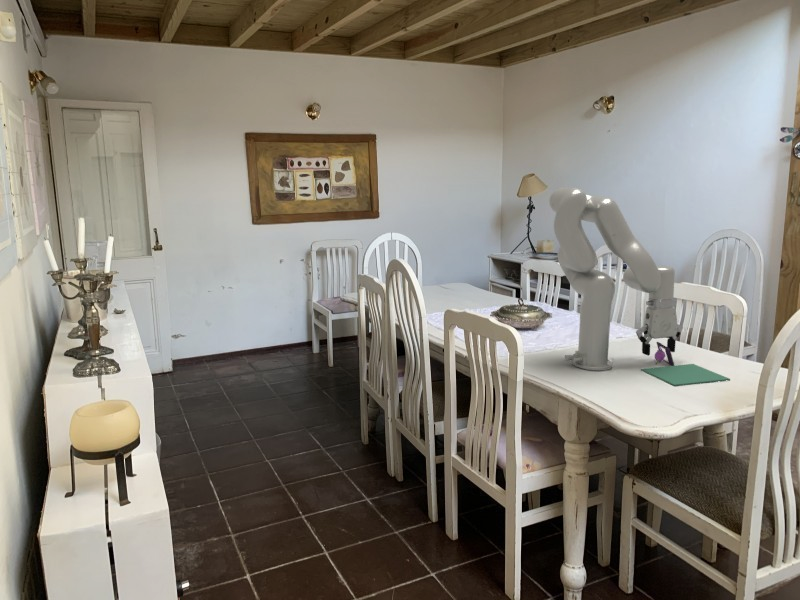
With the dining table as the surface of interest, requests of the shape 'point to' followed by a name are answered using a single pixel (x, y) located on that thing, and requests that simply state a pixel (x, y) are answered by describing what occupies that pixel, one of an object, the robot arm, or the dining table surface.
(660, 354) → the black open frame
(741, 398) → the dining table surface
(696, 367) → the mat
